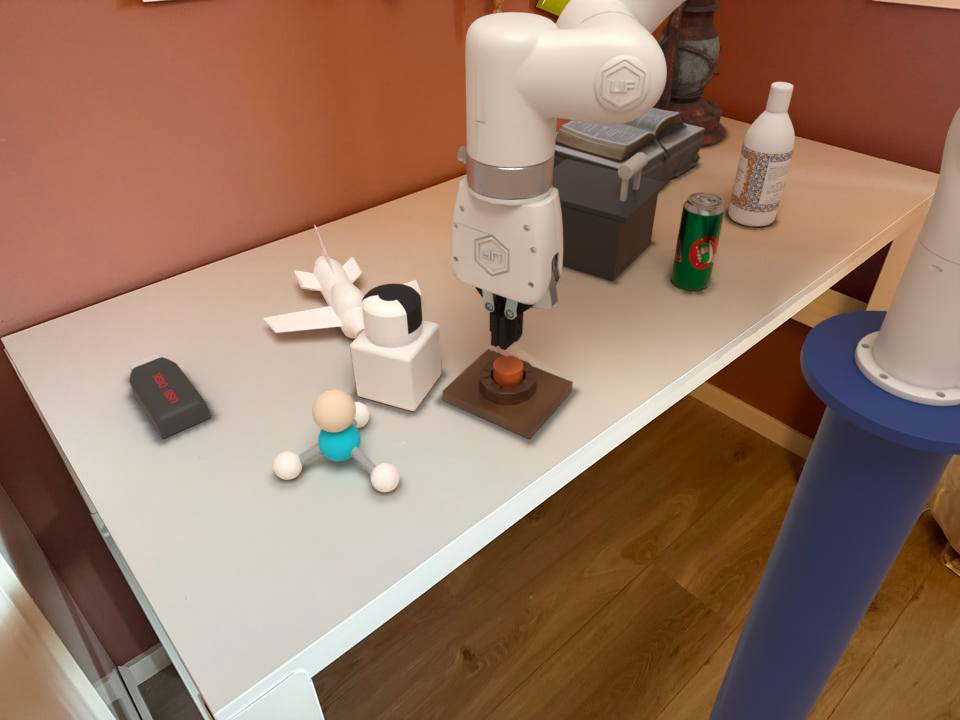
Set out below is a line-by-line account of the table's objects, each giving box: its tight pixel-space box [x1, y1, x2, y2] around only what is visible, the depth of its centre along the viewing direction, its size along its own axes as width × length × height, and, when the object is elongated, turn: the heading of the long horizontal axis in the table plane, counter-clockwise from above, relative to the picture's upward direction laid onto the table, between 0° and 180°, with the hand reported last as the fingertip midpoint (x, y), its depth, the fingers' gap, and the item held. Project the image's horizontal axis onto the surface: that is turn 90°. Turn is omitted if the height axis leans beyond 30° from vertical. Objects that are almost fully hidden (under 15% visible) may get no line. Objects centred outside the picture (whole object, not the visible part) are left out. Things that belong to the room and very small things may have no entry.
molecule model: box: [272, 388, 401, 493], centre depth 68 cm, size 12×12×9 cm
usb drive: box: [128, 353, 212, 440], centre depth 78 cm, size 5×12×3 cm, turn 39°
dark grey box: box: [561, 193, 659, 282], centre depth 101 cm, size 15×13×9 cm
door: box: [552, 152, 666, 223], centre depth 96 cm, size 15×13×6 cm
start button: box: [493, 355, 523, 386], centre depth 76 cm, size 3×3×2 cm
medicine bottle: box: [349, 283, 442, 412], centre depth 76 cm, size 7×7×12 cm
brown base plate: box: [442, 348, 573, 440], centre depth 77 cm, size 11×9×3 cm
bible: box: [554, 108, 705, 185], centre depth 122 cm, size 23×27×10 cm
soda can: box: [670, 191, 726, 291], centre depth 92 cm, size 5×5×12 cm
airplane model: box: [262, 224, 423, 339], centre depth 90 cm, size 20×20×8 cm
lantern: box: [653, 0, 726, 148], centre depth 131 cm, size 19×19×30 cm
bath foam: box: [728, 81, 796, 228], centre depth 104 cm, size 7×7×20 cm
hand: (505, 341), depth 73 cm, fingers closed
